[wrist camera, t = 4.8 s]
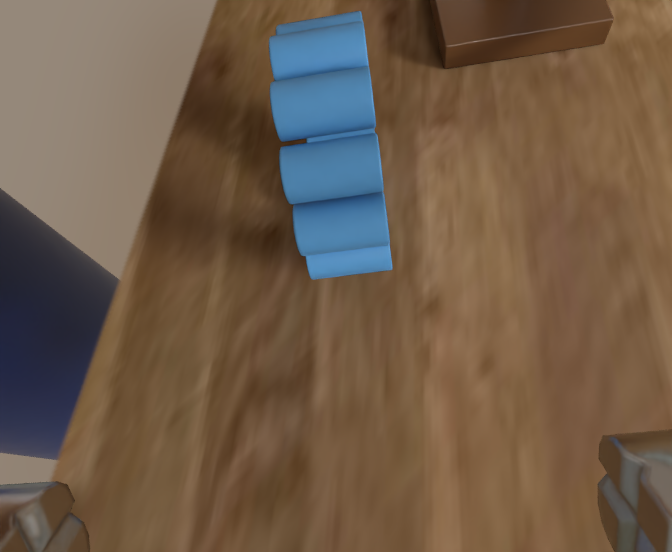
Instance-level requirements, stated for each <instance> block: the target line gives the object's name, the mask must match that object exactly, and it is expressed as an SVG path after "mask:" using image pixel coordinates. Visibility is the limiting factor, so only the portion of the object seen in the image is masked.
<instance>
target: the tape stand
mask: <svg viewBox="0 0 672 552" xmlns="http://www.w3.org/2000/svg"><path fill="white" fill-rule="evenodd" d="M429 1H430V6H431V11H432V15H433V20H434V25H435V29H436V34H437V38H438V43H439V48H440V52H441V57H442V62H443V66H444V69H448V68H454V67H460V66H467V65H473V64H479V63H485V62H492V61H498V60H504V59H511V58H517V57H523V56H529V55H536V54H542V53H548V52H554V51H561V50H567V49H573V48H579V47H586V46H592V45H598V44H603V43H604V42H605V40H606V37H607V35H608V32H609V30H610V28H611V25H612V23H613V20H614V17H613V15H612V13H611V10H610V8H609V6H608V3H607V1H606V0H429Z"/></svg>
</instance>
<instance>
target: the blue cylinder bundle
mask: <svg viewBox="0 0 672 552" xmlns="http://www.w3.org/2000/svg"><path fill="white" fill-rule="evenodd" d="M269 53H270V61H271V67H272V72H273V76H274V80H275V81H273V82H271V84H270V102H271V110H272V115H273V120H274V124H275V128H276V131H277V134H278V137H279V139H280V140H281V141H282V142H285V141H292V140H298V139H305V138H306V142H307V143H303V144H297V145H290V146H283V147H281V148H280V153H279V166H280V174H281V181H282V185H283V190H284V193H285V196H286V199H287V201H288V202H289V204H294V206H293V227H294V234H295V240H296V244H297V248H298V250H299V252H300V254H301V255H302V256H306V263H307V268H308V272H309V275H310V277H311V279H313V280H314V279H322V278H330V277H338V276H346V275H355V274H363V273H371V272H379V271H387V270H392V260H391V251H390V238H389V229H388V221H387V212H386V204H385V197H384V193H383V190H384V186H383V176H382V167H381V159H380V151H379V143H378V136H377V134H376V133H375V130H374V128H375V127H376V119H375V110H374V101H373V93H372V85H371V77H370V70H369V65H368V56H367V47H366V39H365V31H364V24H363V20H362V13H361V11H356V12H350V13H344V14H338V15H333V16H327V17H321V18H315V19H310V20H304V21H298V22H292V23H287V24H281V25H278V26H277V27H276V35H275V36H271V37H270V39H269Z"/></svg>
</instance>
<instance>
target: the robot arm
mask: <svg viewBox="0 0 672 552" xmlns="http://www.w3.org/2000/svg"><path fill="white" fill-rule="evenodd" d="M599 460H600V462H601V464H602V465H603V467H604V468H605V470H606V472H607V474H606V475H605V476H604V477H603V478H602V479H601V481H600V482H599V483H598V506H599V511H600V516H601V521H602V524H603V527H604V530H605V532H606V535H607V538H608V540H609V542H610V544H611V546H612V548H613V549H614V551H615V552H672V429H670V430H659V431H648V432H636V433H625V434H614V435H603V436H602V439H601V441H600V444H599ZM74 502H75V500H74V497H73V495H72V493H71V491H70V489H69V487H68V485H67V484H64V483H61V482H57V481H56V482H42V483H41V482H40V483H24V484H7V485H0V552H90V542H89V534H88V531H87V529H86V526H85V524H84V522H83V521H81V520H80V519H79V518H77V517H76V516H75V515H73V514H72V513H71V510H72V507H73V505H74Z"/></svg>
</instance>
